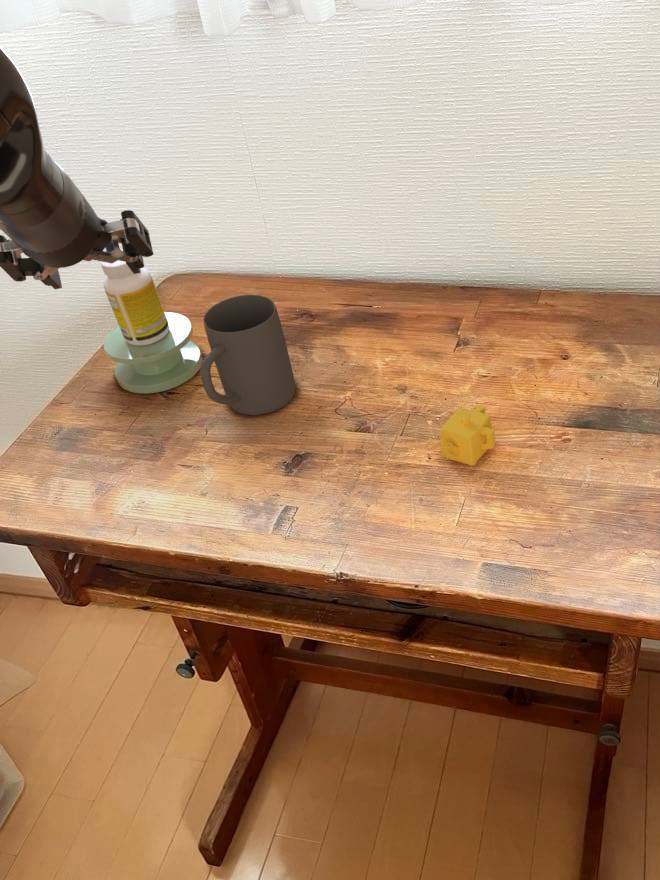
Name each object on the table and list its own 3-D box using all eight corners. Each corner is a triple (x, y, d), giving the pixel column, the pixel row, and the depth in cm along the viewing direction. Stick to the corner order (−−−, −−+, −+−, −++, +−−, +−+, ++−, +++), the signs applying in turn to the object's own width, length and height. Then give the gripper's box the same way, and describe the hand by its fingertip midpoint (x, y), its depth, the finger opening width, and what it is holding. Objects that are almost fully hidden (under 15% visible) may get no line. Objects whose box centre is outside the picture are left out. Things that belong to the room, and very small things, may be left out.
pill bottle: (177, 323, 114) (151, 246, 106) (158, 348, 110) (129, 269, 102) (137, 322, 115) (108, 246, 107) (116, 346, 111) (85, 269, 103)
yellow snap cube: (476, 483, 91) (474, 446, 88) (432, 469, 94) (427, 432, 90) (510, 442, 96) (509, 405, 92) (466, 429, 99) (463, 393, 95)
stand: (164, 400, 110) (151, 366, 106) (99, 383, 115) (84, 350, 111) (219, 353, 117) (209, 319, 114) (155, 339, 122) (143, 306, 118)
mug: (253, 370, 113) (231, 289, 105) (310, 382, 109) (291, 299, 101) (192, 428, 105) (162, 346, 97) (251, 443, 101) (225, 359, 93)
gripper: (112, 153, 74) (154, 226, 91) (-49, 183, 73) (23, 251, 90) (129, 235, 74) (169, 293, 90) (-32, 265, 73) (37, 319, 89)
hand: (96, 272), depth 90 cm, fingers open, 8 cm apart
